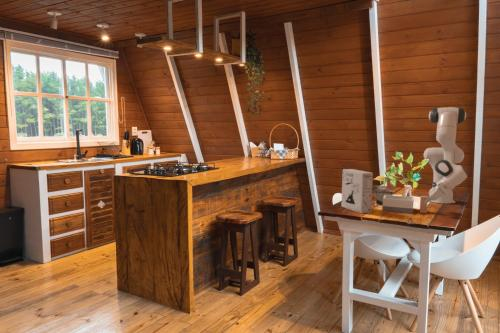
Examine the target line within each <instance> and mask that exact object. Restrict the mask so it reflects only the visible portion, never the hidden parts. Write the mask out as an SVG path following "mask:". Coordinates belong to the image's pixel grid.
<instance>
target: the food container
mask: <svg viewBox="0 0 500 333" xmlns="http://www.w3.org/2000/svg"><path fill="white" fill-rule="evenodd" d="M374 194H375V201H376V202H375V203H376V206H377V205H378V206H383V197H384V195H395V194H394V191H393V190H391V189H382V188H381V189H375V191H374Z"/></svg>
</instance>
